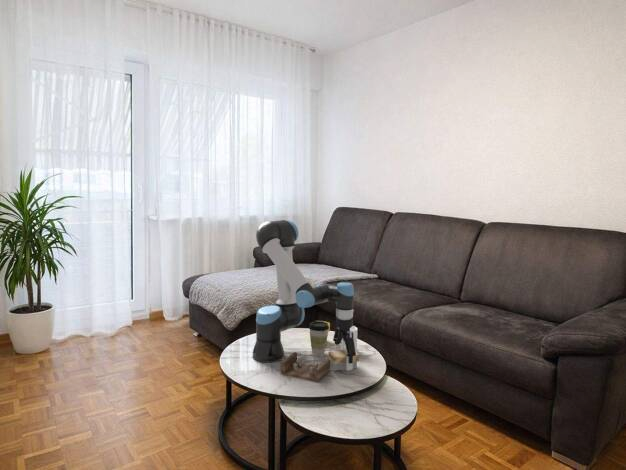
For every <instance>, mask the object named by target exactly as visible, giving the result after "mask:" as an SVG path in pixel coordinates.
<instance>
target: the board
mask: <svg viewBox="0 0 626 470" xmlns="http://www.w3.org/2000/svg"><path fill="white" fill-rule="evenodd" d="M355 352H356V351H355ZM346 355H348V354H347V350H340V351H335V350H332V351H328V356H327V357H328V358H327V359H330V360H331V361H332V363H333V364H341V363H347V356H346ZM355 361H357V362H360V354H359V353H358V351H357V352H356V356H353V362H355Z"/></svg>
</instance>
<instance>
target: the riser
mask: <svg viewBox="0 0 626 470" xmlns="http://www.w3.org/2000/svg"><path fill="white" fill-rule="evenodd" d="M346 364H347V363H341V364H333V363H332V361H331V360H330V371H332V372H335V371H343V370H346ZM357 367H358V361H355V362H353V369H355V368H356V369H357Z"/></svg>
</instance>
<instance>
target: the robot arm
mask: <svg viewBox="0 0 626 470" xmlns="http://www.w3.org/2000/svg"><path fill="white" fill-rule="evenodd" d="M255 238H256V242H257V245H258V247H259V249H260V250H261V251H262V253H263V254H267V256H268V257H269V259H270V260H271V262H273V264H274V265H275V271H276V283H277V295H278V299H277V300H276V302H275V305H266V306H262V307H261V308H259V309H258V310H257V311H256V316H255V317H256V318H255V322H256V323H255V326H256V327H255V329H256V330H255V331H256V332H255V333H256V335H255V337H256V341H255V343H254V347H253V349H252V358H253V359H254V360H255V361H257V362H261V363H273V362H279V361H281V360H282V359H284V358H285V350H284V346H283V344H282V343H283V342H282V338H281V336H282V335H281V334H282V332H284V331H287V330H290V329H293V328H296V327H297V326H298V327H299V326H300V325H301V324H302V323H303V321H304V320H305V315H306V313H305V309H306V308H312V307H313V306H316V305H320V304H323V303H326V302H331V303H335V304H336V308H335V317H336V319H335V329H334V334H333V338H332V341H333V342H334V351H340V350H341V341H342V339H343V341H344V342H345V345H346V350H347V354H348V355H346V356H347V364H346V369H345V370H346V371H351V370H353V369H354V368H353V356H356V352H355V346H354V339H353V332H352V333H350V328H351V327H352V326H354V318H353V317H354V312H355V309H354V296H355V291H354V285H353V283H351V282H345V281H343V282H342V281H341V282H339V283H337V285H334V284H329V283H326V282H325V283H324V282H323V283H322V282H318V283H317V284H316V285H315V286H312V285H311V284H310V282H309V281H308V280H307V278H306V277H305V275H304V274H303V273H302V272H301V270H300V269H299V267H298V266H297V265H296V264H295V262H294V259H293V249H295V245H296V244H295V242H296V241H298V238H299V230H298V227H297V225H296V224H295V223H294V222H293V221H291V220H288V219H287V220H285V219H281V220H269V221H264V222H263V223H260V225H259V226H258V228H257V230H256V233H255Z"/></svg>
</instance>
